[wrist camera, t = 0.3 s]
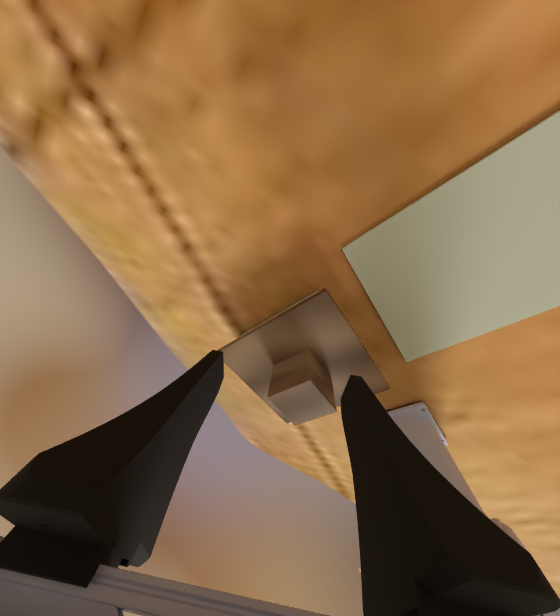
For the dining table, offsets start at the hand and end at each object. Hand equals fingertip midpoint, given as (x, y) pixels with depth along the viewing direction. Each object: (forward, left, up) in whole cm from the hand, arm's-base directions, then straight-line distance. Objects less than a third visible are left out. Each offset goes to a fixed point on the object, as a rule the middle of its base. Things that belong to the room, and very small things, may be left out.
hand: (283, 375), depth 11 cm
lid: (-5, +2, -7) cm, 9 cm away
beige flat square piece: (-5, -14, -10) cm, 18 cm away
